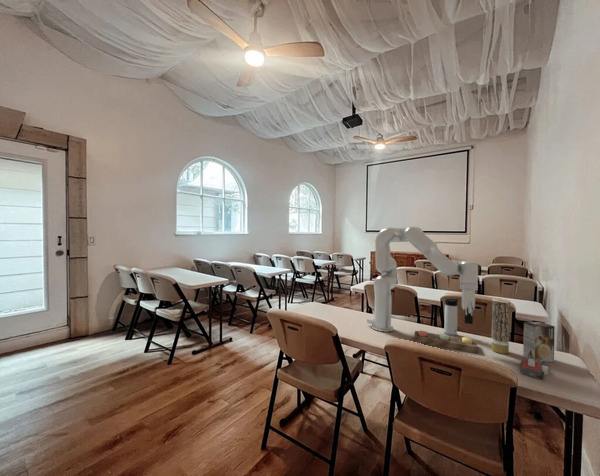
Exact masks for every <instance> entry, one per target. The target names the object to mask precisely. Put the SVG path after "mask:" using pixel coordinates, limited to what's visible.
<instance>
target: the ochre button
mask: <svg viewBox="0 0 600 476" xmlns="http://www.w3.org/2000/svg"><path fill="white" fill-rule="evenodd" d="M461 338H462V343H466V344H472V340H473V339H472V338H470V337H467V336H466V337H464V336H463V337H461Z"/></svg>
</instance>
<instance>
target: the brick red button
mask: <svg viewBox="0 0 600 476" xmlns="http://www.w3.org/2000/svg"><path fill="white" fill-rule="evenodd" d="M417 331H418V336H423V337H427V333H428V331H425V330H417Z"/></svg>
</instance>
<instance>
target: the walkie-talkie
mask: <svg viewBox="0 0 600 476" xmlns="http://www.w3.org/2000/svg"><path fill="white" fill-rule="evenodd" d="M520 374H521V375H524V376H527V377H530V378H535V379H539V380H543V379H544V376H547V375H549V366H547V362H545V361H543V362H542V363H541V362H535V359H530V358H522V359H521V361H520Z"/></svg>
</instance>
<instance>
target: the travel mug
mask: <svg viewBox="0 0 600 476" xmlns="http://www.w3.org/2000/svg"><path fill="white" fill-rule="evenodd" d="M458 302H459V299H457V298H446V299H445V300H444V327H443V328H444V329H443V330H444V331H443V332H444V333H443V334H446V335H449V336H453V337H457V335H458Z"/></svg>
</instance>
